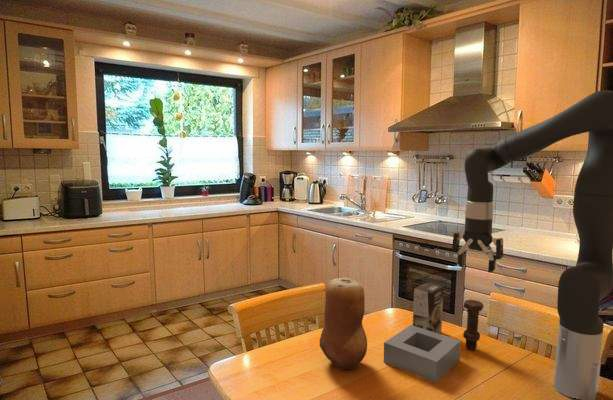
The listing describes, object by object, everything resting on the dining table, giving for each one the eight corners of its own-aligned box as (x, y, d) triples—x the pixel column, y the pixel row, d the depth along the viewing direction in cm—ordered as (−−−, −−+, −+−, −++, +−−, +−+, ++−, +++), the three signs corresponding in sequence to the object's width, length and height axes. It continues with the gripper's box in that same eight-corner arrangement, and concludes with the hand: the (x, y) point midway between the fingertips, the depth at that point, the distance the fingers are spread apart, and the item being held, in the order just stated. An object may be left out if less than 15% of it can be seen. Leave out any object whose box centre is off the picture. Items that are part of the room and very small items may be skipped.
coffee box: (429, 340, 133) (431, 292, 131) (411, 334, 138) (413, 288, 135) (442, 331, 140) (444, 285, 138) (424, 326, 144) (426, 281, 142)
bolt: (478, 345, 130) (480, 300, 128) (483, 353, 125) (486, 306, 123) (459, 344, 131) (461, 299, 129) (463, 352, 126) (466, 305, 124)
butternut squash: (375, 363, 119) (378, 279, 116) (350, 383, 109) (352, 292, 106) (336, 347, 128) (337, 270, 125) (309, 365, 118) (310, 281, 115)
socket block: (459, 360, 121) (460, 340, 121) (435, 383, 110) (436, 361, 109) (409, 342, 132) (410, 324, 131) (383, 361, 120) (384, 342, 119)
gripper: (508, 217, 120) (504, 271, 123) (460, 212, 130) (457, 262, 132) (500, 220, 115) (496, 277, 117) (450, 215, 124) (447, 267, 126)
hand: (475, 269), depth 124 cm, fingers open, 8 cm apart
